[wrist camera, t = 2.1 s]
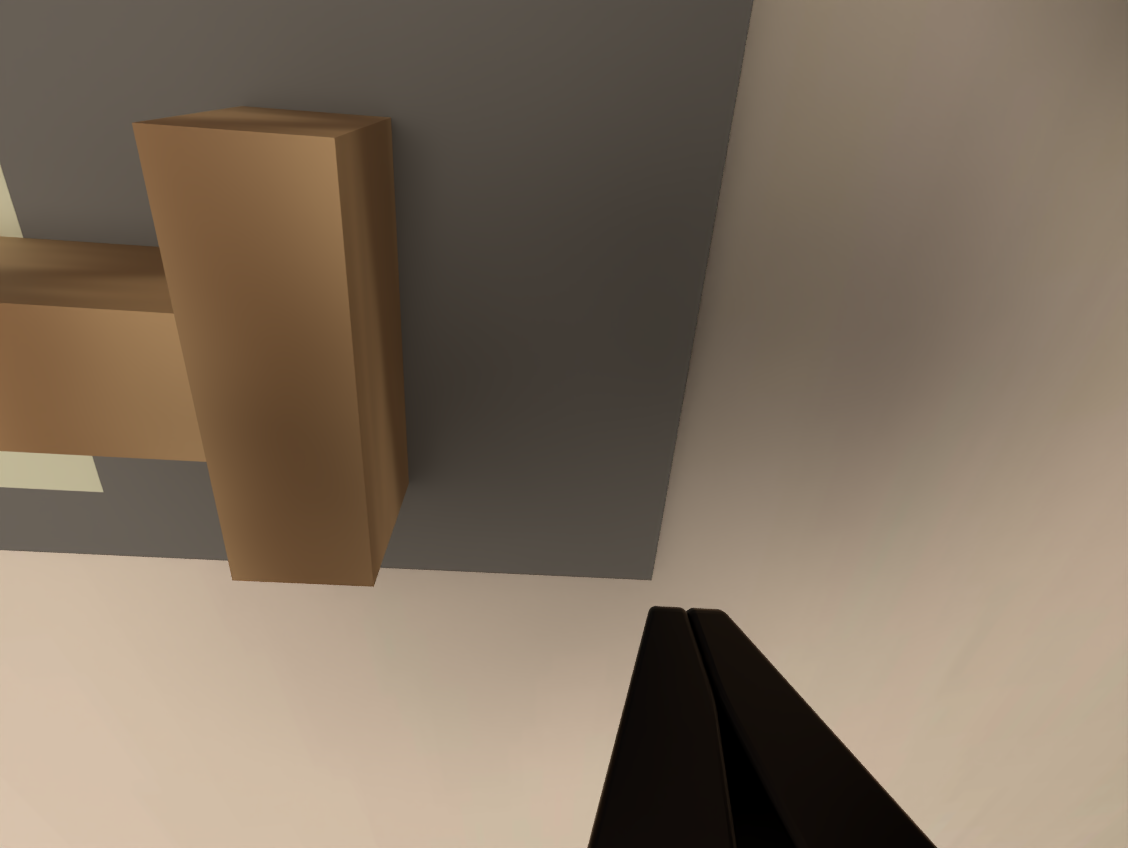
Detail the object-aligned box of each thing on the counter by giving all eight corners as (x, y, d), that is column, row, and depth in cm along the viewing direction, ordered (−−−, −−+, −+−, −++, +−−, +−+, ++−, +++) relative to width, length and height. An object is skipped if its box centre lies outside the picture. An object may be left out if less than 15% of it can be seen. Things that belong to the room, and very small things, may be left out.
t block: (391, 117, 14) (334, 137, 10) (408, 483, 18) (373, 586, 14) (-67, 82, 13) (-290, 91, 10) (64, 465, 18) (-58, 567, 14)
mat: (803, -319, 11) (811, -332, 11) (650, 571, 20) (651, 580, 20) (-935, -507, 10) (-992, -528, 9) (-260, 528, 19) (-276, 537, 19)
